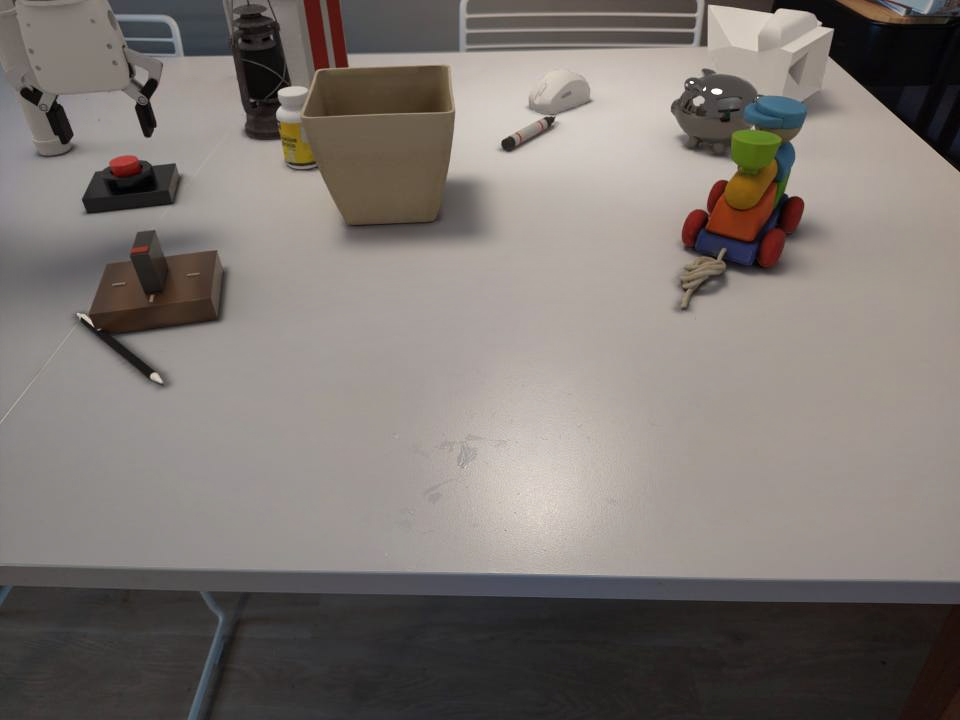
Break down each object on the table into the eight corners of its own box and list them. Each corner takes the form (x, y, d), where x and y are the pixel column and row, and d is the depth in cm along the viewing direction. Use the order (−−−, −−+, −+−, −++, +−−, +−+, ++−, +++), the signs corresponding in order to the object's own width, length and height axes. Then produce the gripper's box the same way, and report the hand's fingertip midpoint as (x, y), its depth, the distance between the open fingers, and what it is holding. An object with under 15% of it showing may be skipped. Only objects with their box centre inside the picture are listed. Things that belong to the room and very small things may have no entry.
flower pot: (460, 233, 94) (455, 110, 83) (320, 240, 93) (298, 116, 82) (454, 174, 108) (450, 63, 98) (334, 180, 107) (316, 68, 97)
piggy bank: (680, 126, 123) (692, 59, 115) (764, 144, 116) (781, 73, 108) (653, 146, 116) (664, 76, 108) (741, 167, 109) (758, 93, 101)
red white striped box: (352, 78, 147) (333, -69, 129) (319, 106, 133) (293, -53, 116) (281, 74, 150) (254, -70, 132) (242, 101, 136) (206, -55, 119)
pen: (83, 315, 80) (79, 307, 80) (168, 384, 70) (164, 376, 70) (75, 319, 80) (72, 311, 79) (160, 388, 70) (156, 380, 69)
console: (98, 336, 77) (87, 313, 75) (115, 284, 85) (106, 262, 83) (217, 319, 79) (210, 296, 77) (223, 270, 87) (216, 248, 85)
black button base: (87, 213, 100) (76, 187, 98) (100, 184, 108) (90, 160, 105) (172, 203, 102) (164, 178, 99) (179, 176, 110) (172, 152, 107)
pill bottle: (283, 158, 114) (268, 87, 107) (321, 152, 116) (309, 81, 109) (289, 173, 110) (274, 100, 102) (329, 166, 111) (317, 94, 104)
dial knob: (151, 268, 82) (136, 229, 79) (168, 266, 82) (154, 227, 79) (144, 293, 78) (128, 253, 74) (162, 291, 78) (147, 251, 75)
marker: (510, 151, 115) (510, 140, 114) (500, 149, 116) (501, 137, 115) (559, 124, 124) (559, 113, 123) (550, 122, 125) (550, 111, 124)
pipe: (33, 150, 119) (-55, -48, 100) (71, 140, 122) (-8, -54, 103) (43, 159, 116) (-46, -44, 96) (82, 149, 119) (2, -50, 100)
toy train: (638, 296, 81) (659, 162, 71) (715, 201, 100) (741, 84, 89) (741, 328, 76) (781, 188, 65) (802, 221, 95) (841, 99, 84)
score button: (110, 178, 101) (106, 167, 100) (115, 167, 104) (111, 156, 103) (139, 175, 101) (135, 164, 100) (143, 164, 104) (139, 153, 103)
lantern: (273, 113, 131) (235, -70, 112) (319, 121, 127) (287, -67, 108) (229, 136, 122) (179, -58, 103) (276, 145, 119) (233, -54, 100)
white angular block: (817, 19, 112) (855, 9, 122) (687, -1, 125) (732, -8, 135) (786, 124, 122) (823, 107, 132) (669, 95, 135) (712, 81, 145)
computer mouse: (524, 108, 131) (525, 74, 127) (570, 92, 137) (572, 59, 133) (548, 117, 127) (550, 82, 123) (594, 100, 134) (597, 66, 130)
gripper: (142, -27, 79) (185, 120, 90) (-20, -19, 76) (43, 132, 87) (130, -13, 73) (177, 142, 84) (-46, -4, 70) (26, 155, 81)
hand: (109, 137), depth 85 cm, fingers open, 9 cm apart
